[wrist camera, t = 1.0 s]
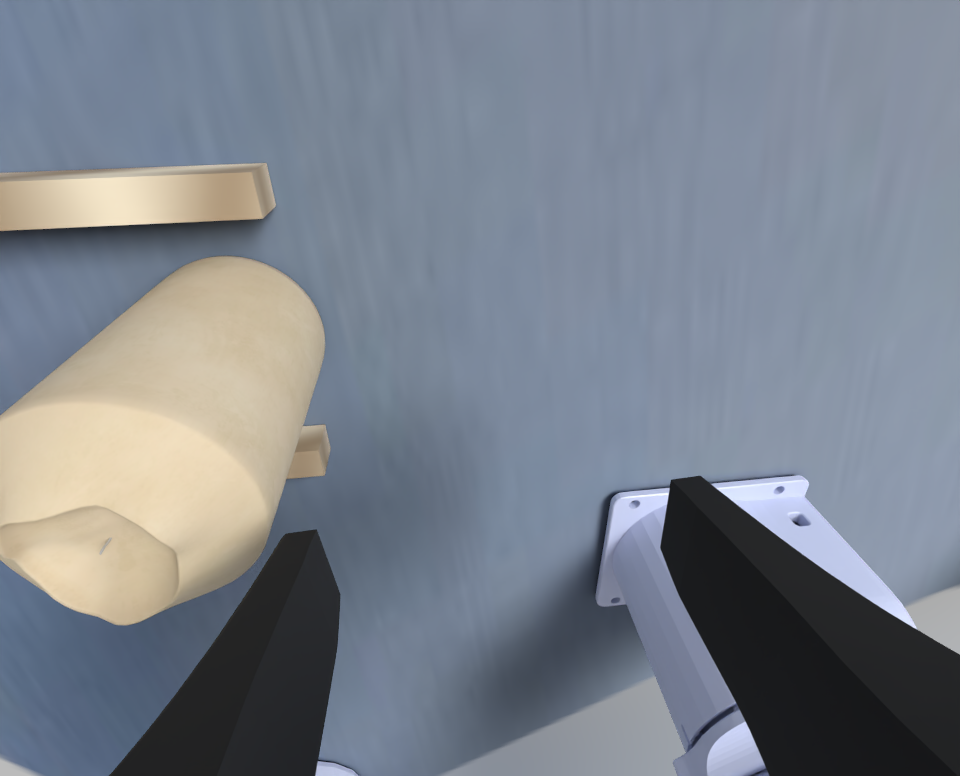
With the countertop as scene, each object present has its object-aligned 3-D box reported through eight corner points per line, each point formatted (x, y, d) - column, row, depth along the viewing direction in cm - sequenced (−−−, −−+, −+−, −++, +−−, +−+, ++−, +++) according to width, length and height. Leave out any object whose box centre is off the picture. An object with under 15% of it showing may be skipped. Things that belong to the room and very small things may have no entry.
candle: (116, 300, 16) (-200, 543, 8) (259, 222, 16) (78, 398, 7) (231, 421, 19) (89, 694, 11) (357, 360, 18) (310, 602, 10)
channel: (266, 162, 15) (233, 183, 12) (330, 448, 20) (318, 506, 18) (-231, 181, 14) (-390, 208, 11) (-18, 477, 19) (-88, 544, 17)
